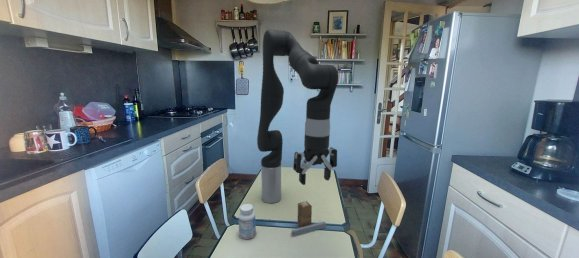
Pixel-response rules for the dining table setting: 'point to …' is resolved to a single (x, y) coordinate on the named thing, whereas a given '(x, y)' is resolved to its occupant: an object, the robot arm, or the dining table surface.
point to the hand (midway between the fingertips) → (314, 181)
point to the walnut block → (304, 214)
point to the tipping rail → (308, 228)
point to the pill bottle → (247, 222)
